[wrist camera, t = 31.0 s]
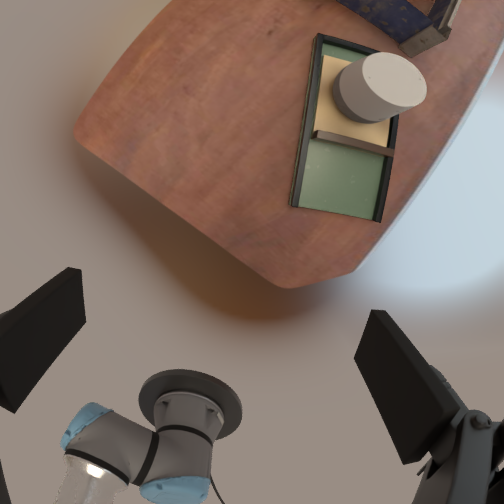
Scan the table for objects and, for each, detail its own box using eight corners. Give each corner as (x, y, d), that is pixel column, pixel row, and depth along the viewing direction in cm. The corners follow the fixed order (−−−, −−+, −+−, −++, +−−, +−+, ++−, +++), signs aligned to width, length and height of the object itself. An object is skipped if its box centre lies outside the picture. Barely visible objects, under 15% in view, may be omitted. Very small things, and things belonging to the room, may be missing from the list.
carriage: (381, 157, 42) (393, 157, 38) (310, 139, 42) (316, 137, 38) (391, 78, 38) (403, 72, 34) (322, 56, 38) (328, 48, 34)
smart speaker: (377, 69, 37) (423, 43, 24) (389, 124, 40) (440, 115, 26) (322, 70, 37) (352, 37, 24) (334, 128, 40) (371, 116, 27)
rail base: (375, 219, 47) (381, 223, 44) (288, 203, 46) (290, 206, 43) (397, 64, 38) (404, 60, 36) (313, 38, 37) (317, 32, 35)
